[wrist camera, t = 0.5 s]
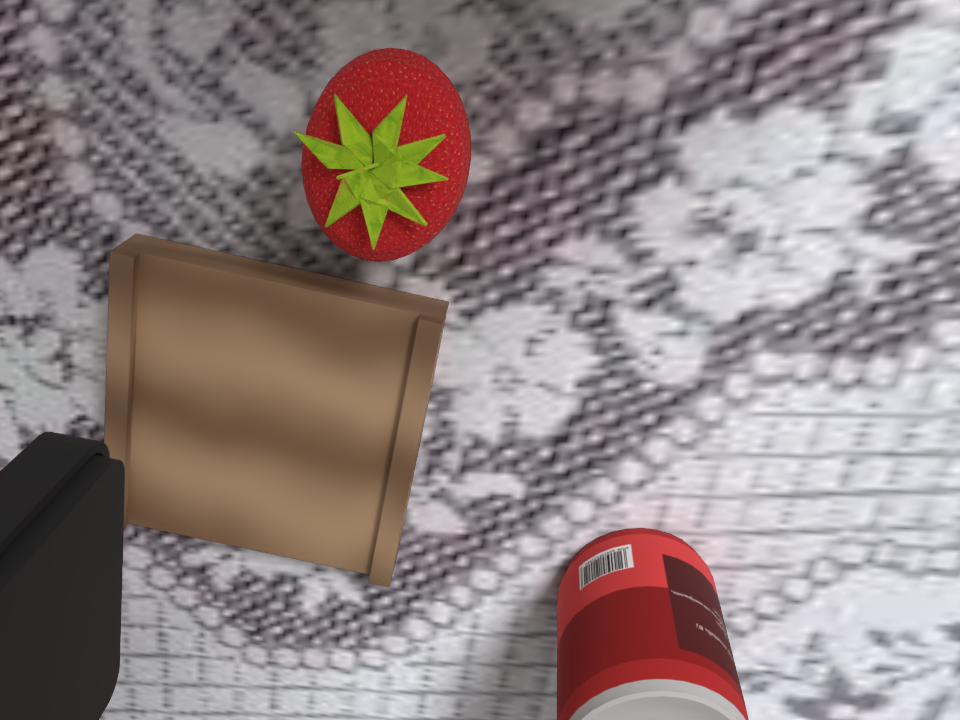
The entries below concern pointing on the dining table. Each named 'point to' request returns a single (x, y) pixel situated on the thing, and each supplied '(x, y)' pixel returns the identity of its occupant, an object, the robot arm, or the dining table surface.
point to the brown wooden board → (266, 402)
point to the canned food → (643, 634)
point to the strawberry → (386, 154)
